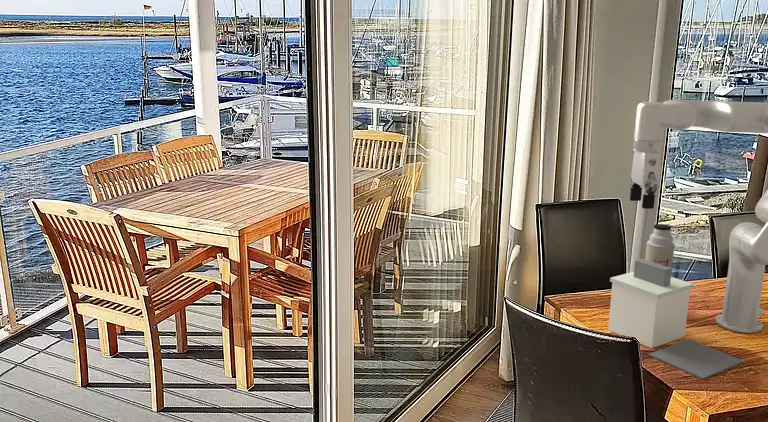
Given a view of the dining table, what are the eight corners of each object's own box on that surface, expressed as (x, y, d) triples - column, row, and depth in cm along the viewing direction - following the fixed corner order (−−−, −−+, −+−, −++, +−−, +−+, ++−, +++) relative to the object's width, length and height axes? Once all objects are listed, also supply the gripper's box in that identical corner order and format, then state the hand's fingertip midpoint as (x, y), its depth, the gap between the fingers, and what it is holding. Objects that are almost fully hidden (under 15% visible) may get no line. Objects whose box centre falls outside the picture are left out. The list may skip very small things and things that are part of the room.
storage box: (640, 319, 211) (645, 273, 208) (684, 336, 199) (690, 287, 195) (608, 329, 203) (612, 281, 200) (651, 348, 191) (656, 297, 188)
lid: (645, 275, 209) (647, 252, 207) (692, 291, 195) (695, 267, 194) (609, 284, 200) (611, 261, 198) (656, 302, 187) (659, 277, 185)
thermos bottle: (667, 316, 213) (676, 230, 206) (639, 313, 216) (648, 227, 209) (667, 307, 220) (676, 223, 214) (640, 304, 223) (649, 221, 217)
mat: (689, 340, 196) (689, 339, 196) (743, 362, 183) (743, 360, 183) (648, 355, 187) (648, 353, 187) (702, 379, 174) (702, 377, 174)
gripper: (673, 150, 187) (666, 211, 191) (648, 141, 204) (643, 197, 208) (645, 150, 187) (639, 211, 191) (623, 141, 203) (618, 197, 208)
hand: (641, 204), depth 199 cm, fingers open, 9 cm apart
